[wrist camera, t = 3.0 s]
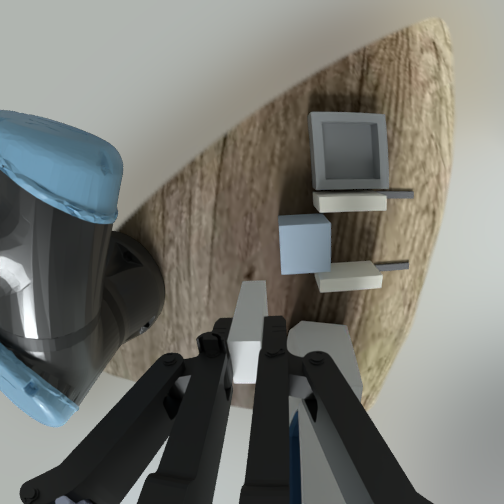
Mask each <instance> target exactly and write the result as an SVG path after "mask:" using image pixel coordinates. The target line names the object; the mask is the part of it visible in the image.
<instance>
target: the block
mask: <svg viewBox="0 0 504 504" xmlns="http://www.w3.org/2000/svg"><path fill="white" fill-rule="evenodd" d="M278 222H279V239H280V257H281V272H282V275H283V274H301V273H318V272H331V223H330V222H329V221H328V219H327V218H326V217H325V216H324V215H323V214H322V213H321V214H300V215H281V216H278Z"/></svg>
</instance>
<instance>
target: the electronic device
mask: <svg viewBox="0 0 504 504" xmlns="http://www.w3.org/2000/svg"><path fill="white" fill-rule="evenodd" d="M287 349H288V351H289V352H290V353H291V354H293V355H295V356H299V357H304V356H305V355H306V354H307V353H309V352H312V351H323V352H326V353H328V354H329V355H330V356H331V357H332V359H333V360H334V362H335V363H336V365H337V367H338V368H339V370H340V371H341V373H342V374H343V376H344V377H345V379H346V381H347V382H348V384H349V385H350V387H351V388H352V390H353V392H354V393H355V395H356V396H357V398H358V399H359V401H360V403H361V396H362V389H363V384H362V380H361V376H360V372H359V368H358V365H357V361H356V357H355V353H354V349H353V346H352V342H351V339H350V335H349V332H348V328H347V325H339V324H328V323H319V322H310V321H301V322H299V323H298V324H297V325H296V326H294V327H293V328H292V329H290V330H289V334H288V338H287ZM289 442H290V479H289V485H290V503H289V504H346V502H345V500H344V498H343V496H342V493H341V491H340V489H339V487H338V484H337V482H336V480H335V477H334V475H333V473H332V471H331V468H330V466H329V464H328V461H327V459H326V457H325V454H324V452H323V450H322V448H321V445H320V443H319V441H318V438H317V436H316V434H315V431H314V429H313V427H312V424H311V422H310V420H309V417H308V415H307V412H306V410H305V408H304V405H303V403H302V400H301V398H296V397H291V396H289Z"/></svg>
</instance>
